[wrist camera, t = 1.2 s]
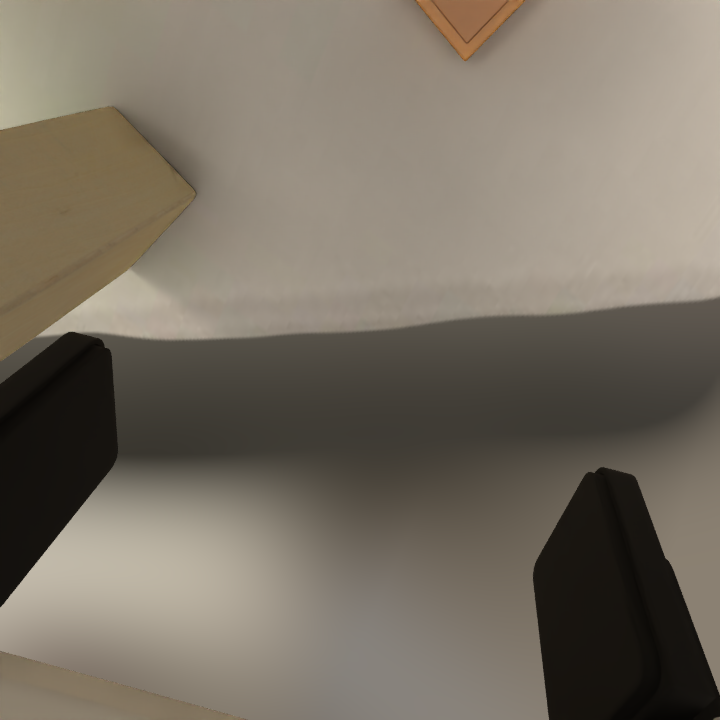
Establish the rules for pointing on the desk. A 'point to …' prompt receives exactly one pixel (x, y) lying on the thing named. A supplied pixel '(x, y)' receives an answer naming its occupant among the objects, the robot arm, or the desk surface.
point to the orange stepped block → (468, 20)
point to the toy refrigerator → (75, 214)
